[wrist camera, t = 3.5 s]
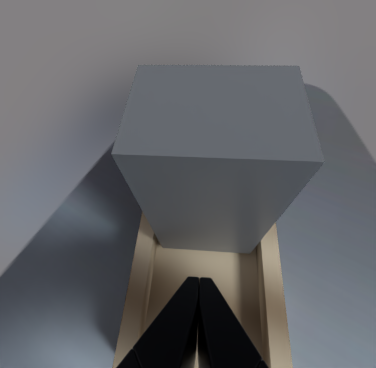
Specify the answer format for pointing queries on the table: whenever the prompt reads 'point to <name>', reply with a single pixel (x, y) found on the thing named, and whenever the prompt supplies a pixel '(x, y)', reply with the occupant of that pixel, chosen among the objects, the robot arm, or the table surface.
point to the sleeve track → (225, 281)
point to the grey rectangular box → (216, 151)
